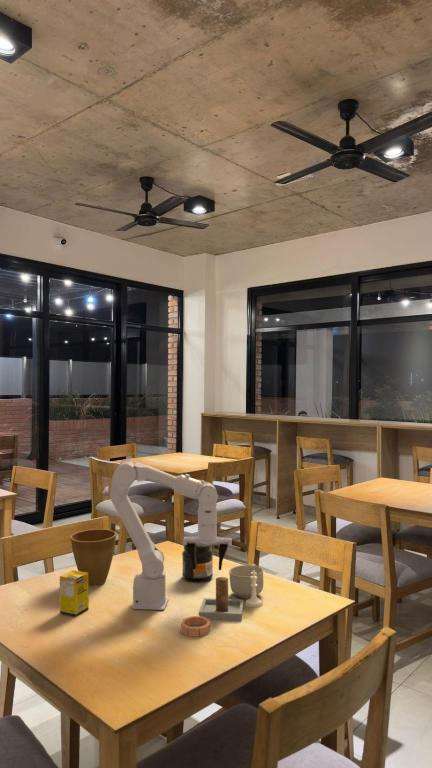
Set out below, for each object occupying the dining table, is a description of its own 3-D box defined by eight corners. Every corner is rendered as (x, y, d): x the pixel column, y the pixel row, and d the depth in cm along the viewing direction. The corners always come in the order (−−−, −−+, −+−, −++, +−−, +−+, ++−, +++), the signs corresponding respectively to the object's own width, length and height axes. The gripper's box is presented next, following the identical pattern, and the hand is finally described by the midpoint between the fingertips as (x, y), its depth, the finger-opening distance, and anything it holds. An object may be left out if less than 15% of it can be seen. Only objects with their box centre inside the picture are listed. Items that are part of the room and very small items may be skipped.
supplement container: (216, 581, 182) (216, 546, 182) (185, 584, 180) (185, 548, 180) (209, 571, 192) (209, 537, 192) (179, 573, 190) (179, 539, 190)
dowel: (214, 612, 156) (214, 580, 156) (217, 607, 160) (217, 576, 160) (227, 613, 156) (227, 581, 156) (229, 608, 159) (229, 577, 159)
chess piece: (261, 607, 161) (261, 573, 161) (244, 606, 162) (244, 572, 162) (263, 601, 166) (262, 568, 166) (247, 599, 167) (246, 567, 167)
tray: (199, 618, 154) (199, 612, 154) (203, 604, 163) (203, 598, 163) (241, 620, 152) (241, 613, 152) (243, 605, 162) (243, 599, 162)
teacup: (253, 604, 163) (253, 578, 163) (222, 597, 169) (222, 571, 169) (273, 589, 175) (273, 564, 175) (244, 583, 181) (244, 559, 181)
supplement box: (89, 609, 160) (89, 572, 160) (76, 617, 154) (75, 578, 154) (72, 606, 162) (72, 569, 162) (59, 613, 157) (59, 575, 157)
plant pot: (99, 571, 192) (99, 526, 192) (125, 582, 182) (125, 534, 182) (62, 582, 181) (61, 534, 181) (86, 594, 171) (86, 543, 171)
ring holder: (179, 635, 143) (179, 627, 143) (184, 622, 151) (184, 615, 151) (208, 636, 142) (208, 629, 142) (211, 624, 150) (211, 616, 150)
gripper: (181, 526, 161) (181, 572, 161) (230, 527, 160) (230, 574, 160) (185, 520, 168) (185, 564, 168) (232, 521, 167) (232, 566, 167)
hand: (207, 568), depth 164 cm, fingers open, 7 cm apart
